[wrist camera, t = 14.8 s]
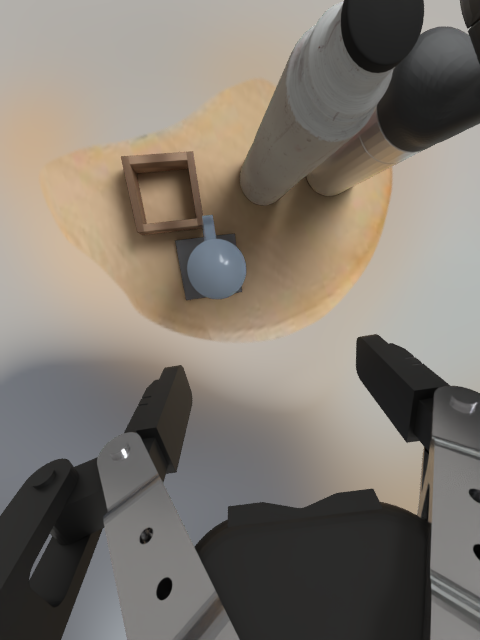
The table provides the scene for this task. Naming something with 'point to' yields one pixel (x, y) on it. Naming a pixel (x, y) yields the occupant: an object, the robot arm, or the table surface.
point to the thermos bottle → (328, 91)
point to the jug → (215, 265)
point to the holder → (154, 165)
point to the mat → (184, 253)
